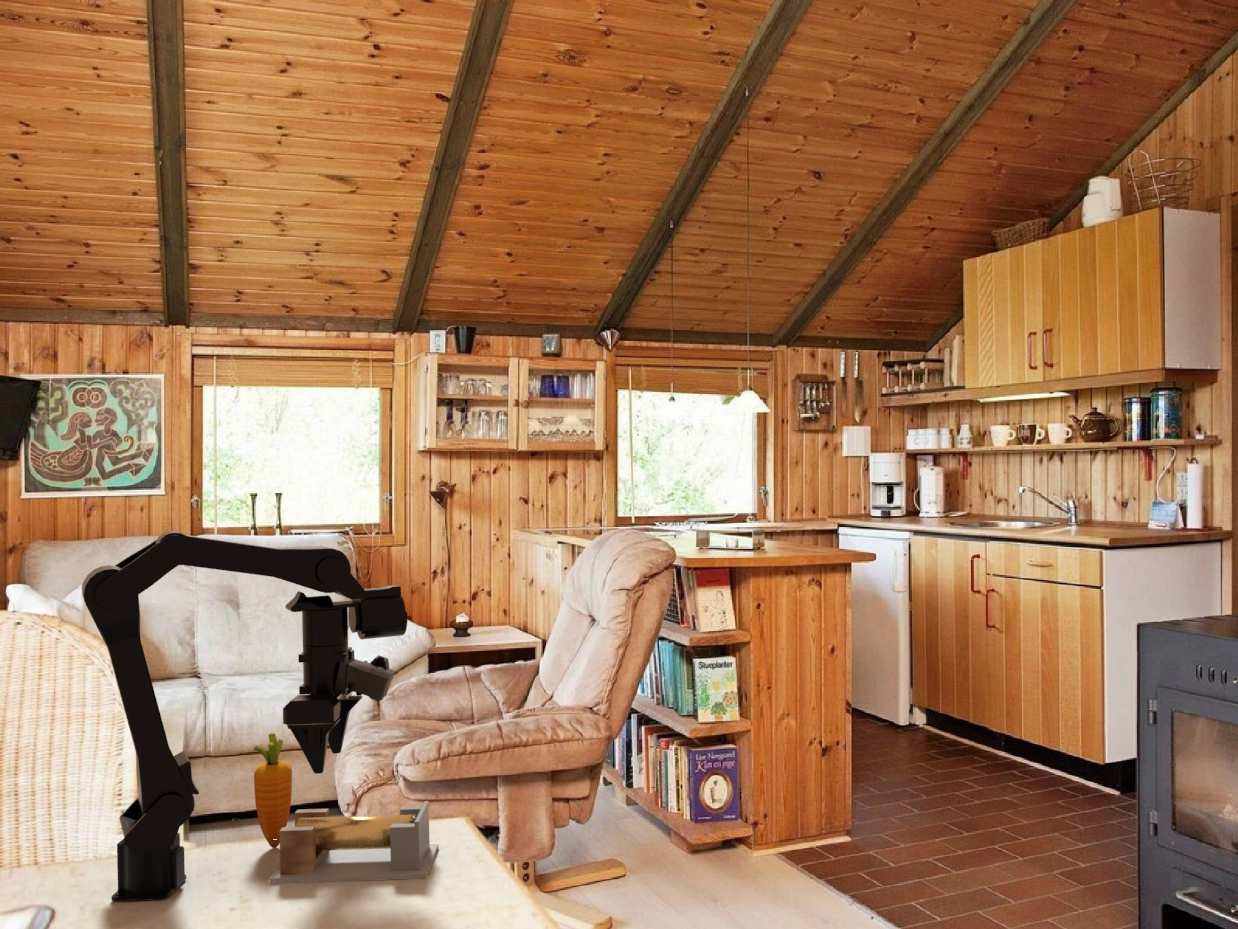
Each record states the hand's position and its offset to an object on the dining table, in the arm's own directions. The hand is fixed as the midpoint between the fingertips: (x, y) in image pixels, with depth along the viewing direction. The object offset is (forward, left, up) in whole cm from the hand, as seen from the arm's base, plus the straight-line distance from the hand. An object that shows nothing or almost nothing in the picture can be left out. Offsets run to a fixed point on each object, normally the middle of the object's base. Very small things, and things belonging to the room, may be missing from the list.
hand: (328, 762), depth 136 cm
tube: (+5, -4, -10) cm, 12 cm away
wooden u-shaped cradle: (-2, -4, -12) cm, 13 cm away
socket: (+11, -4, -12) cm, 17 cm away
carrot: (-8, +3, -12) cm, 15 cm away
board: (+4, -4, -12) cm, 13 cm away
